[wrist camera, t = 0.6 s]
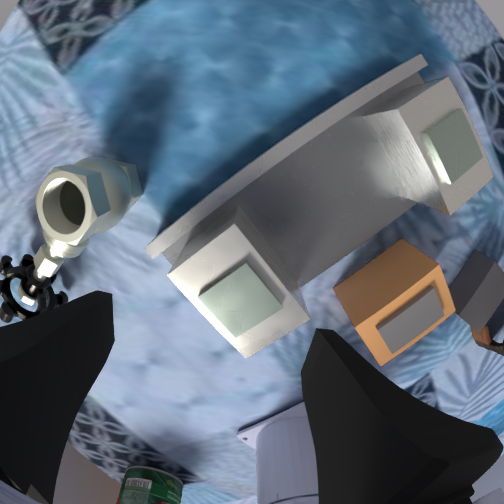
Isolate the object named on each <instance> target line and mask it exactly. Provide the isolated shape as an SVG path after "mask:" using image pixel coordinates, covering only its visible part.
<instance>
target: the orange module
mask: <svg viewBox="0 0 504 504" xmlns="http://www.w3.org/2000/svg"><path fill="white" fill-rule="evenodd" d="M333 290H334V292H335V293H336V295H337V297H338V299H339V301H340V302H341V304H342V306H343V308H344V309H345V311H346V313H347V315H348V317H349V319H350V320H351V322H352V324H353V326H354V328H355V329H356V331H357V332H358V334H359V335H360V336H361V338H362V339H363V341H364V342H365V344H366V345H367V347H368V348H369V350H370V351H371V353H372V354H373V356H374V357H375V359H376V360H377V362H378V363H379V365H380V366H382V365H384V364H385V363H387V362H388V361H390V360H391V359H393V358H394V357H396V356H397V355H399V354H400V353H402V352H403V351H404V350H406V349H407V348H409V347H410V346H411V345H413V344H414V343H416V342H417V341H418V340H420V339H421V338H422V337H424V336H425V335H426V334H428V333H429V332H430V331H431V330H433V329H434V328H435V327H437V326H438V325H439V324H440V323H442V322H443V321H444V320H445V319H447V318H448V317H449V316H450V315H451V314H453V313H454V312H455V311H456V310H455V307H454V303H453V300H452V297H451V295H450V292H449V289H448V286H447V283H446V280H445V278H444V275H443V272H442V270H441V267H440V265H439V264H438V263H437V262H435V261H434V260H433V259H431V258H430V257H428V256H427V255H426V254H424V253H423V252H421V251H420V250H418V249H417V248H415V247H414V246H413V245H411V244H410V243H408V242H407V241H405V240H404V239H402V238H401V239H400V240H399V241H397V242H396V243H395V244H393V245H392V246H391V247H389V248H388V249H387V250H385V251H384V252H383V253H381V254H380V255H379V256H377V257H376V258H375V259H373V260H372V261H371V262H369V263H368V264H366V265H365V266H364V267H362V268H361V269H360V270H358V271H357V272H355V273H354V274H353V275H351V276H350V277H348V278H347V279H345V280H344V281H343V282H341V283H340V284H338V285H337V286H335V287H334V288H333Z"/></svg>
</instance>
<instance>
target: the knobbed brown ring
mask: <svg viewBox="0 0 504 504" xmlns="http://www.w3.org/2000/svg"><path fill="white" fill-rule="evenodd" d="M471 331H472V335H473V338H474V340H475V342H476V343H477V344H478V346H481V347H484V348H486V349H488V350H492V351H494V352H497V353H498V354H501V355H503V356H504V340H503V343H497V342H496V341H494V340H493V339H491V338H490V334H489V329H488V325H487V324H486V325H485V326H484V327H483V329H482V330H481V331H480V333H478V332H477V331H476V330H475V329H474V328H473V327H471Z"/></svg>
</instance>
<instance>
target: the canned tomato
mask: <svg viewBox="0 0 504 504" xmlns="http://www.w3.org/2000/svg"><path fill="white" fill-rule="evenodd" d="M182 489H183V483H182V481H181V480H180V479H179V478H177V477H176V476H174V475H172V474H170V473H168V472H166V471H163V470H160V469H157V468H153V467H148V466H139V465H138V466H130V467H128V468H127V469H126V472H125V476H124V479H123V483H122V486H121V489H120V493H119V497H118V500H117V503H116V504H180V503H181V497H182Z"/></svg>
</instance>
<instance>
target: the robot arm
mask: <svg viewBox="0 0 504 504" xmlns="http://www.w3.org/2000/svg"><path fill="white" fill-rule="evenodd" d="M114 341H115V338H114V324H113V303H112V294H111V293H106V292H102V291H98V290H97V291H94V292H91V293H88V294H86V295H84V296H81V297H79V298H77V299H74V300H72V301H70V302H68V303H65V304H63V305H61V306H59V307H56V308H54V309H52V310H49V311H47V312H44V313H42V314H39V315H37V316H34V317H32V318H29V319H26V320H23V321H20V322H17V323H13V324H10V325H6V326H2V327H0V504H53V497H54V490H55V484H56V479H57V475H58V470H59V466H60V463H61V458H62V455H63V451H64V448H65V445H66V442H67V439H68V436H69V433H70V430H71V428H72V425H73V422H74V420H75V417H76V415H77V413H78V411H79V409H80V407H81V405H82V403H83V401H84V399H85V398H86V396H87V394H88V392H89V391H90V389H91V387H92V385H93V384H94V382H95V380H96V378H97V377H98V375H99V373H100V372H101V370H102V368H103V366H104V365H105V363H106V361H107V358H108V356H109V354H110V351H111V349H112V346H113V344H114ZM301 379H302V391H303V398H304V402H302V403H300V404H298V405H296V406H294V407H292V408H290V409H288V410H286V411H284V412H282V413H279V414H277V415H275V416H273V417H271V418H269V419H267V420H264V421H262V422H260V423H258V424H255V425H253V426H251V427H248V428H246V429H244V430H241V431H239V432H237V438H239V439H240V440H242V441H243V442H245V443H246V444H248V445H249V446H251V447H252V448H254V449H255V450H256V468H257V500H258V504H504V493H503V491H502V489H501V488H498V489H496V490H494V491H492V492H491V493H489V494H487V495H485V496H483V497H481V498H480V499H478V500H476V501H475V502H473V503H472V502H471V500H470V497H471V496H472V495H473V494H474V489H473V487H472V484H473V483H474V482H475V481H476V480H478V479H479V478H480V477H481V476H482V475H483V474H484V473H485V472H486V471H487V470H488V469H489V468H490V467H491V466H492V465H493V464H494V463H495V462H496V461H497V459H498V458H499V457H500V455H501V453H502V451H503V445H502V443H501V441H500V440H499V438H498V437H497V435H496V434H495V432H494V431H493V430H492V429H491V428H487V427H483V426H480V425H476V424H473V423H469V422H466V421H463V420H461V419H458V418H456V417H453V416H451V415H448V414H446V413H444V412H441V411H439V410H437V409H435V408H433V407H431V406H429V405H428V404H426V403H424V402H422V401H420V400H419V399H417V398H415V397H413V396H412V395H410V394H409V393H407V392H406V391H404V390H403V389H401V388H400V387H398V386H397V385H396V384H394V383H393V382H392V381H390V380H389V379H388V378H387V377H385V376H384V375H383V374H382V373H380V372H379V371H378V370H377V369H376V368H374V367H373V366H372V365H371V364H370V363H369V362H368V361H366V360H365V359H364V358H363V357H362V356H361V355H360V354H359V353H358V352H357V351H356V350H354V349H353V348H352V347H351V346H350V345H349V344H348V343H347V342H346V341H345V340H344V339H343V338H342V337H341V336H339V335H338V334H337V333H336V332H335V331H333V330H328V329H319V328H316V331H315V334H314V337H313V340H312V343H311V346H310V348H309V351H308V354H307V357H306V360H305V362H304V365H303V368H302V371H301Z"/></svg>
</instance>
